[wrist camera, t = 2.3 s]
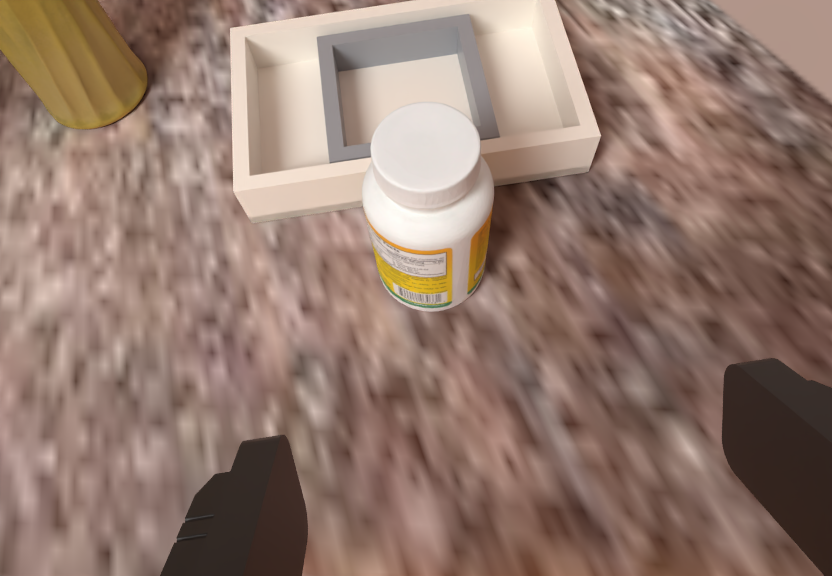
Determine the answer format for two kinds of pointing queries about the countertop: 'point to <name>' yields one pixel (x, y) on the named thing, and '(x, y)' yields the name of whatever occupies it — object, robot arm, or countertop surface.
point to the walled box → (400, 96)
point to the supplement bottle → (428, 205)
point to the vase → (72, 60)
